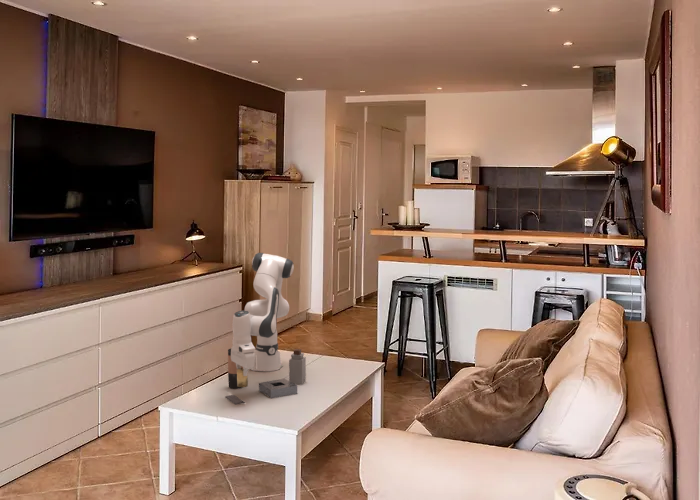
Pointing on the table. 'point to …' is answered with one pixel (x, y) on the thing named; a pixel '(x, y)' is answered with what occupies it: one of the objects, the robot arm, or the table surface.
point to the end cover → (241, 378)
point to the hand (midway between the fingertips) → (242, 374)
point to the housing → (278, 388)
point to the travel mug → (232, 372)
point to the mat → (234, 399)
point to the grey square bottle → (297, 367)
